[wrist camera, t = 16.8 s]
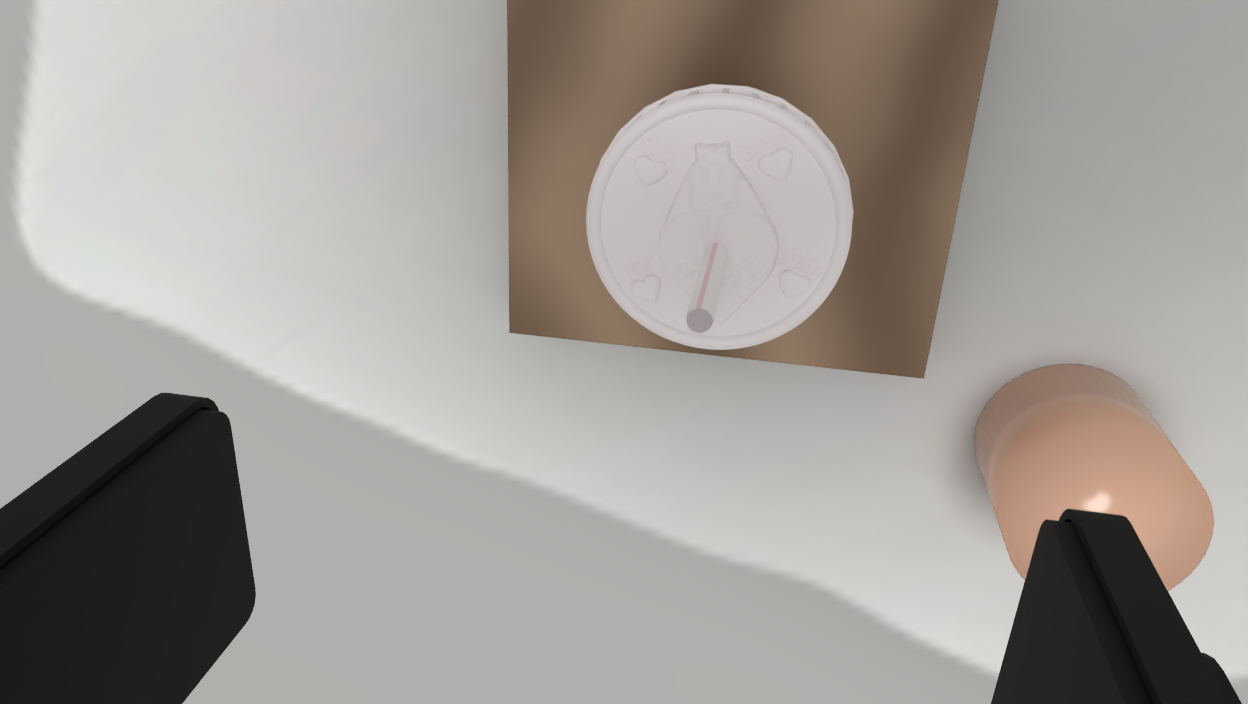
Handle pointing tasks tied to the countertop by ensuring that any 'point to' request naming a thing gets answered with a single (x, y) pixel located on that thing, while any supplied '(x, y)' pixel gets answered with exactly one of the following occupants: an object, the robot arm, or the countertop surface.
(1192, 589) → the countertop surface
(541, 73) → the walnut board
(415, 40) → the countertop surface
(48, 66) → the countertop surface
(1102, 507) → the peach rounded cylinder
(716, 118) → the smoothie
